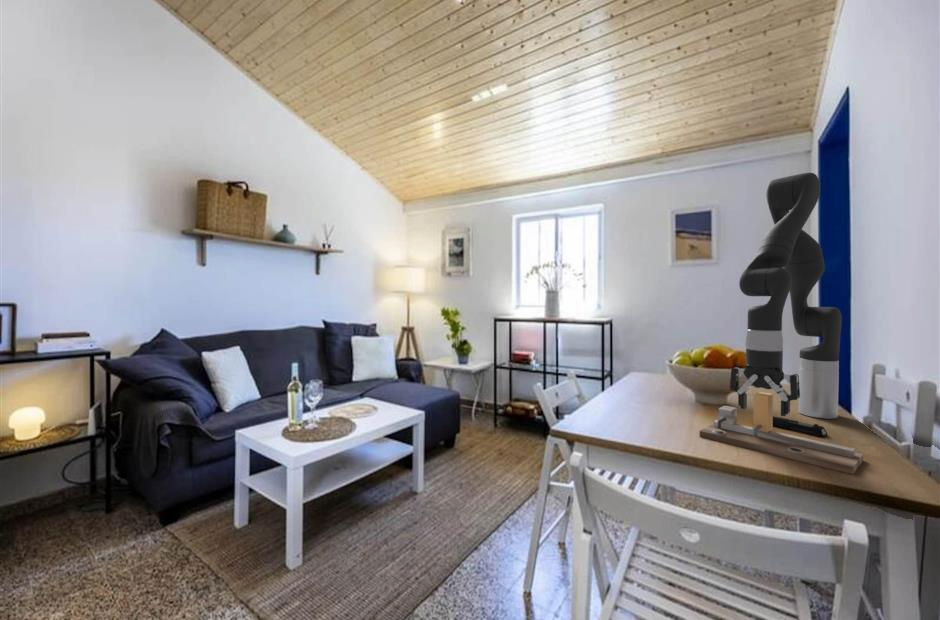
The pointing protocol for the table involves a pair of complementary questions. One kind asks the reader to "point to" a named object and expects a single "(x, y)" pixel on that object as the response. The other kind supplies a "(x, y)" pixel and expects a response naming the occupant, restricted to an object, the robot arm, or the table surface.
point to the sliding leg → (762, 412)
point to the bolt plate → (781, 443)
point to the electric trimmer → (799, 426)
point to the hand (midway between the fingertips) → (762, 411)
